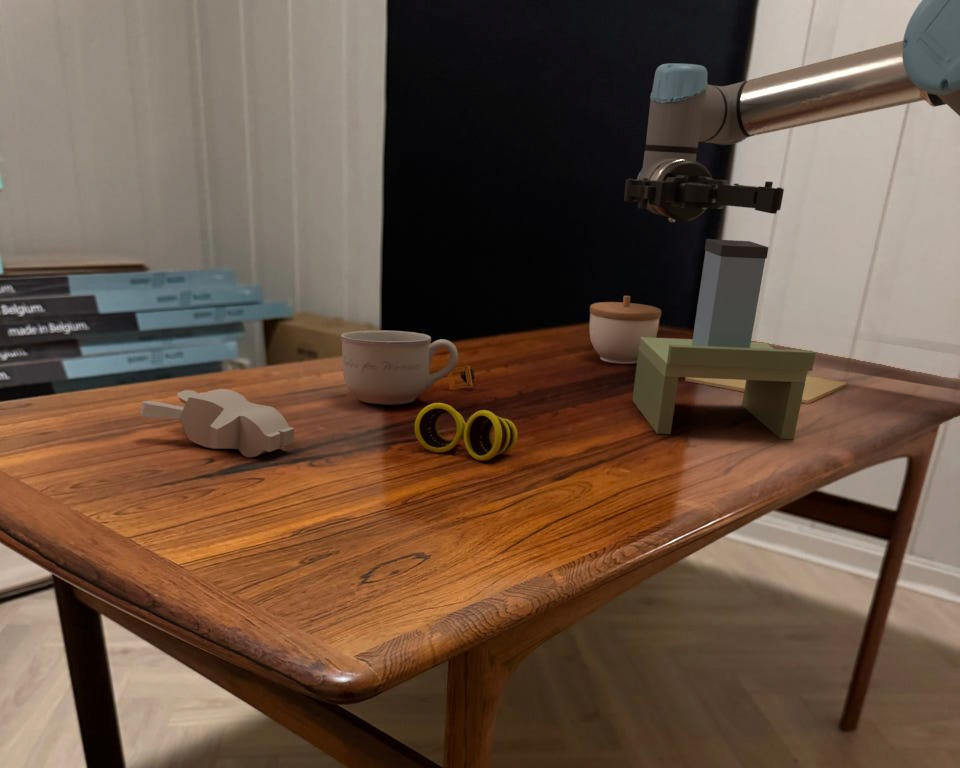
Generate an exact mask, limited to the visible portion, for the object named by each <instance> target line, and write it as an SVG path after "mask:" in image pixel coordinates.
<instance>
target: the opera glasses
mask: <svg viewBox="0 0 960 768" xmlns="http://www.w3.org/2000/svg"><path fill="white" fill-rule="evenodd" d="M448 414H450V415H451V416H452V417H453V419H454V421H455V425H456V431H455V436H454V438H446V437H444V436H442V434H441V433H440V431H439V429H438V424H439V421H440V420H441V418H442V417H444V416H445V415H448ZM414 433H415V437H416V439H417V441H418V442H419V444H420V445H421V446H422V447H423V448H424V449H425V450H427V451H429V452H431V453H436V454H442V453H446V452H449V451H451V450H453V449H454V448H455V447H456V446H457V445H458V444H459V442H460V440H462V439H463V443H464V446H465V449H466V451H467V452H468V454H469V455H470V457H472V458H473V459H475V460H476V461H480V462H486V461H490V460H491V459H493V458H494V457H495V456H498V455H500V454H505V453H509V452H510V451H512V450H513V449H514V448H515V446H516V444H517V441H518V438H519V436H518V434H519V433H518V428H517V427H516V425H515V423H513V421H512V420H510V419H508V418H502V417H500V416H498V415H496V414H494V413H493V412H492V411H490V410H485V409H481V410H477V411H475V412H474V413H473V414H471V416H470V417H469V418H468V420H467V421H465V419H464V417H463V415H462V414H461V413H460V412H458V411H457V410H456V409H455V408H454V407H453V406H451V405H449V404H446V403H442V402H433V403H430V404H428V405H426V406H425V407H423V408H422V409H421V410H420V411H419V413H418V414H417V416H416V418H415V421H414ZM493 433H494V440H493Z"/></svg>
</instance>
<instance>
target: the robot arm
mask: <svg viewBox="0 0 960 768" xmlns="http://www.w3.org/2000/svg"><path fill="white" fill-rule="evenodd" d="M708 73H709V72H708V70H707V68H706V67H705V66H703V65H701V64H695V63H694V64H693V63H663V64H661V65H658V67H657V68H656V69H655V72H654V76H653V77H654V78H653V83H652V90H651V93H650V96H649V98H650V102H649V111H648V120H647V121H648V122H647V130H646V131H647V132H646V139H645V150H644V153H643V162H642V168H641V169H640V172H639V173H638V176H637V178H636V179H634V178H628V179H626V180H625V188H624V197H623V201H624V202H626V203H632V202H638V205H637V209H640V210H647V211H648V212H651V213H652V214H653V215H660V216H664V217H667V218H668V222H669V223H675V222H676V221H678V222H687V221H692V220H694V219H697V218H698V217H700V216H701V215H702V214H703V213H704V212H705V211H706V210H708V209H712V210H713V209H714V210H723V209H724V208H725V207H727V206H728V207H737V208H747V209H748V208H749V209H754V211H758V212H761V213H762V212H763V213H766V214H773V215H775V214H777V212H778V211H781V209H782V202H783V197H784V192H785V189H784V188H782V187H779V186H778V187H773V184H774V181H765V182H764V186H756V185H755V186H754V185H744V184H739V183H733V184H730V183H729V181H728V180H727V179H725V180H724V179H713V177H712V174H711V173H710V171H709V169H708V168H707V167H706V166H705V165H703V163H701V162H698V161H697V153H698V147H699V143H708V144H709V143H710V144H715V145H718V146H719V145H720V146H727V145H734V144H735V145H736V144H739V143H742V142H743V141H745V140H746V139H747V138H751V137H755V136H759V135H765V134H768V133H769V134H770V133H773V132H778V131H784V130H788V129H793V128H798V127H803V126H806V125H807V126H808V125H812V124H816V123H821V122H822V123H823V122H826V121H831V120H836V119H841V118H845V117H851V116H855V115H860V114H865V113H870V112H874V111H875V112H876V111H880V110H884V109H889V108H894V107H899V106H904V105H908V104H909V105H910V104H914V103H918V102H922V101H925V102H926V103H927V104H928V105H929V106H931V107H934V108H935V107H940V106H946V105H947V106H948V107H949V108H950V109H951V110H952V111H953V112H955V114H957V116H959V117H960V0H921V1H920V2H919V3H918V5H917V7H916V8H915V9H914V11H913V13H912V14H911V16H910V18H909V21H908V23H907V25H906V27H905V31H904V34H903V40H900V41H896V42H893V43H889V44H885V45H880V46H877V47H873V48H869V49H865V50H860V51H857V52H853V53H850V54H845V55H842V56H837V57H833V58H830V59H826V60H822V61H818V62H814V63H810V64H806V65H803V66H799V67H795V68H791V69H786V70H782V71H779V72H776V73H772V74H767V75H763V76H759V77H756V78H751V79H748V80H744V81H740V82H737V83H731V84H728V85H723V86H720V85H713V84H709V83H708Z"/></svg>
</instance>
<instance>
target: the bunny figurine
mask: <svg viewBox="0 0 960 768" xmlns="http://www.w3.org/2000/svg"><path fill="white" fill-rule="evenodd" d="M176 395H177V397H178V400H179V401H180V402H181V403H182V404H184V405H183V406H180V405H177V404H171V403H166V402H161V401H155V400H154V401H153V400H143V401H142V403H141V407H140V411H139V415H140V416H141V417H145V418H152V419H154V418H155V419H166V420H167V419H168V420H178V421H179V422H180V424H181V427H182V430H183V431H184V432H185V435H186V437H187V439H188V440H189V441H191V442H193V443H195V444H197V445H199V446H201V447H204V448H208V449H212V450H213V449H219V450H220V449H233V450H238V451H239V453H241V455H242V456H244V457H247V458H253V457H254V458H255V457H259V456H261V455H264V454H266V453H271V452H274V451H276V450H279V449H280V448H282V447H284V448H285V447H287V446H290V445H293V444H294V441H295V428H294V427H291V426H290V425H289V423H288V422H287V420H286V418H285V416H283V415H282V414H281V413H280V411H278V409H277V408H275V407H273V406H271V405H264V404H260V403H254V402H251V401H248V400H247V398H246V397H245V396H244V395H243V394H240V393H239V392H237V391H236V390H235V391H234V390H231V389H227V388H217V389H213V390H209V391H204V392H200V393H198V392H197V391H195V390H192V389H186V390H181V391H179V392H178V393H177V394H176Z"/></svg>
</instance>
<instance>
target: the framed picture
mask: <svg viewBox="0 0 960 768" xmlns="http://www.w3.org/2000/svg"><path fill="white" fill-rule="evenodd" d="M454 372H455V373H458V372H460V374H459V376H460V377H459V378H460V379H462V381H463V382H464V383H463V384H462V383H458V384H456V385H455V382H454V376H453V373H454ZM475 378H476V376H475V373H474V370H473V369H472V368H471V367H470V365H466V366H460V367H459V366H458V367H455V368H454V369H453V370H452V371H451V372H450V373H449V374H448V375H447V381H448V387H449V390H458V389H464V388H473V387H474V383H477V382H478V380H475Z"/></svg>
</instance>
